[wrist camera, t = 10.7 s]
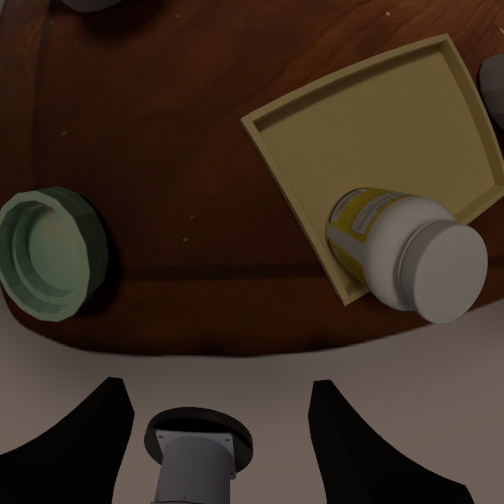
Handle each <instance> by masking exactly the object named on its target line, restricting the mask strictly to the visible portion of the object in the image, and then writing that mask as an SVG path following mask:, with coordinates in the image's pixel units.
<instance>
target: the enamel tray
mask: <svg viewBox="0 0 504 504" xmlns="http://www.w3.org/2000/svg"><path fill="white" fill-rule="evenodd" d="M241 126H242V127H243V129H244V131H245V132H246V134H247V135H248V137H249V139H250V140H251V142H252V144H253V145H254V147H255V149H256V150H257V152H258V154H259V155H260V157H261V159H262V160H263V162H264V164H265V165H266V167H267V169H268V170H269V172H270V174H271V176H272V177H273V179H274V181H275V182H276V184H277V186H278V188H279V189H280V191H281V193H282V195H283V196H284V198H285V200H286V202H287V203H288V205H289V207H290V209H291V210H292V212H293V214H294V216H295V218H296V219H297V221H298V223H299V225H300V227H301V228H302V230H303V232H304V234H305V236H306V238H307V239H308V241H309V243H310V245H311V247H312V249H313V251H314V252H315V254H316V256H317V258H318V260H319V262H320V264H321V266H322V267H323V269H324V271H325V273H326V275H327V277H328V279H329V281H330V283H331V285H332V287H333V289H334V291H335V293H336V294H337V296H338V297H339V298H340V300H341V301H342V303H343V304H344V305H345V306H346V305H348V304H349V303H351V302H353V301H354V300H356V299H358V298H359V297H361V296H363V295H364V294H366V293H368V292H369V290H368V289H367V288H366V287H365V286H364V285H363V284H362V283H361V282H360V281H359V280H358V279H357V278H356V277H355V276H353V275H352V274H351V273H350V272H349V271H348V270H347V269H346V268H345V267H344V266H343V265H342V264H341V263H340V262H339V261H338V260H337V259H336V258H335V257H334V256H333V254H332V253H331V251H330V249H329V247H328V244H327V241H326V235H325V226H326V220H327V216H328V214H329V211H330V209H331V207H332V206H333V204H334V203H335V202H336V201H337V200H338V198H340V197H341V196H342V195H343V194H345V193H346V192H348V191H350V190H353V189H356V188H362V187H371V188H378V189H384V190H390V191H396V192H401V193H407V194H412V195H418V196H422V197H426V198H429V199H432V200H435V201H437V202H439V203H440V204H442V205H443V206H444V207H446V208H447V209H448V210H449V212H450V213H451V214H452V215H453V217H454V218H455V220H456V222H458V223H461V224H463V225H467V224H468V223H470V222H471V221H472V220H474V219H475V218H476V217H477V216H479V215H480V214H481V213H482V212H484V211H485V210H486V209H488V208H489V207H490V206H491V205H492V204H494V203H495V202H496V201H497V200H499V199H500V198H501V197H502V196H503V195H504V161H503V157H502V154H501V151H500V148H499V145H498V142H497V139H496V136H495V133H494V130H493V127H492V125H491V122H490V119H489V117H488V114H487V112H486V109H485V107H484V104H483V102H482V100H481V97H480V95H479V93H478V91H477V89H476V86H475V84H474V82H473V80H472V78H471V76H470V74H469V72H468V70H467V68H466V66H465V64H464V62H463V60H462V58H461V56H460V55H459V53H458V51H457V49H456V47H455V46H454V44H453V42H452V41H451V39H450V37H449V36H448V34H447V33H445V34H442V35H438V36H434V37H431V38H428V39H424V40H421V41H418V42H414V43H411V44H408V45H405V46H402V47H399V48H396V49H393V50H390V51H387V52H385V53H382V54H379V55H376V56H374V57H371V58H368V59H366V60H363V61H361V62H358V63H356V64H353V65H351V66H348V67H346V68H343V69H341V70H339V71H336V72H334V73H332V74H329V75H327V76H325V77H322V78H320V79H318V80H316V81H314V82H311V83H309V84H307V85H305V86H303V87H301V88H299V89H296V90H294V91H292V92H290V93H288V94H286V95H284V96H282V97H280V98H278V99H276V100H274V101H272V102H270V103H268V104H267V105H265V106H263V107H261V108H259V109H257V110H255V111H253V112H252V113H250V114H249V115H246V116H244V117H242V118H241Z"/></svg>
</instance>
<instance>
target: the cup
mask: <svg viewBox="0 0 504 504" xmlns="http://www.w3.org/2000/svg"><path fill="white" fill-rule="evenodd" d="M61 1H63V2H64V3H65V4H66V5H68V6H69V7H71V8H72V9H74V10H76V11H79V12H95V11H100V10H103V9H106V8H109V7H111V6H113V5H116V4H118V3H120V2H121V1H123V0H61Z"/></svg>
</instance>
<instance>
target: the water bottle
mask: <svg viewBox="0 0 504 504" xmlns="http://www.w3.org/2000/svg"><path fill="white" fill-rule="evenodd" d="M478 76H479V85H480V93H481V96H482V98H483V101H484V103H485V106H486V108H487V111H488V113H489V114H490V115H491V116H492V118H493V119H494V120H495V122H496V123H497V124H498V126H499V127H500V128H501V129H503V130H504V53H502V54H499V55H496V56H492V57H489V58H486V59H484V61H483V64H482V67H481V69H480V72H479V75H478Z"/></svg>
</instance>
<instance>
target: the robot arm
mask: <svg viewBox="0 0 504 504" xmlns="http://www.w3.org/2000/svg"><path fill="white" fill-rule="evenodd" d="M134 414H135V413H134V410H133V407H132V405H131V402H130V399H129V396H128V394H127V391H126V388H125V385H124V382H123V379H122V378H113V377H108V378H107V379H106V380H105V381H104V382H103V383H102V384H100V385H99V386H98V388H96V389H95V390H94V391H93V392H92V393H91V394H90V395H89V396H88V397H87V398H86V399H85V400H84V401H82V402H81V403H80V404H79V405H78V406H77V407H76V408H75V409H74V410H73V411H71V412H70V413H69V414H68V415H67V416H65V417H64V418H63V419H62V420H61V421H59V422H58V423H57V424H56V425H55V426H53V427H52V428H50V429H49V430H47V431H46V432H44V433H43V434H41V435H40V436H38V437H37V438H35V439H33V440H31V441H29V442H28V443H26V444H24V445H22V446H20V447H18V448H16V449H14V450H12V451H9V452H7V453H4V454H2V455H0V504H111V503H112V497H113V491H114V486H115V482H116V478H117V475H118V471H119V468H120V465H121V462H122V459H123V456H124V453H125V450H126V447H127V444H128V441H129V438H130V435H131V430H132V425H133V420H134ZM308 420H309V427H310V434H311V440H312V444H313V447H314V451H315V454H316V458H317V462H318V465H319V469H320V472H321V476H322V480H323V483H324V488H325V492H326V498H327V504H474V501H473V499H472V497H471V495H470V492H469V491H468V489H467V488H466V486H465V485H463V484H460V483H457V482H455V481H452V480H449V479H447V478H444V477H442V476H440V475H438V474H435V473H433V472H431V471H429V470H427V469H425V468H424V467H422V466H420V465H419V464H417V463H416V462H414V461H412V460H410V459H409V458H407V457H406V456H405V455H403V454H402V453H400V452H399V451H398V450H396V449H395V448H394V447H393V446H391V445H390V444H389V443H388V442H386V441H385V440H384V439H383V438H382V437H381V436H379V435H378V434H377V433H376V432H375V431H374V430H373V429H372V428H371V427H370V426H369V425H368V424H367V423H366V422H365V421H364V420H363V419H362V418H361V417H360V415H359V414H358V413H357V412H356V411H355V410H354V409H353V407H352V406H351V405H350V404H349V403H348V401H347V400H346V399H345V398H344V397H343V395H342V394H341V393H340V391H339V390H338V389H337V388H336V386H335V385H334V383H333V382H332V381H331V380H320V381H314V383H313V389H312V395H311V401H310V407H309V413H308ZM156 436H157V439H158V442H159V445H160V448H161V450H162V453H163V461H162V465H161V471H160V475H159V480H158V485H157V490H156V495H155V500H154V502H151V504H230V479H235V478H236V469H235V458H234V447H233V435H232V433H230V432H198V431H179V430H166V429H157V430H156Z"/></svg>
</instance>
